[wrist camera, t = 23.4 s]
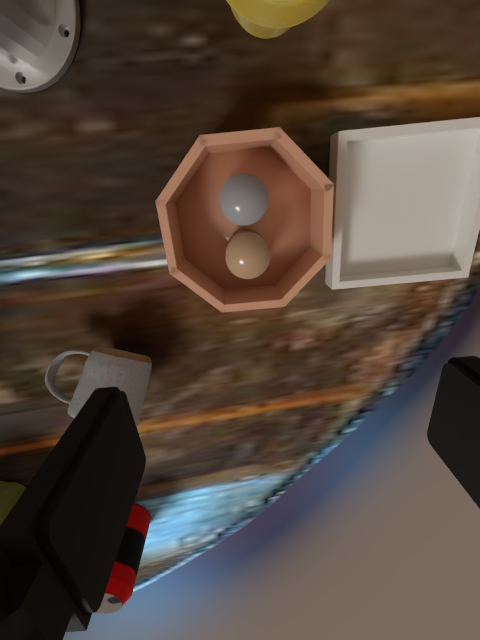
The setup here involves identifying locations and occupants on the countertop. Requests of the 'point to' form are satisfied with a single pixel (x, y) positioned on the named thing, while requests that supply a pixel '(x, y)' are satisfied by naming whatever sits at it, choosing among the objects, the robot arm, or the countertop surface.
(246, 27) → the plant pot
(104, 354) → the ceramic mug
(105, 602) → the soda can
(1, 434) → the countertop surface
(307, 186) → the bowl
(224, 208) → the slate pebble
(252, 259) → the tan pebble
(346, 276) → the parts tray
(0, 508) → the plant pot
